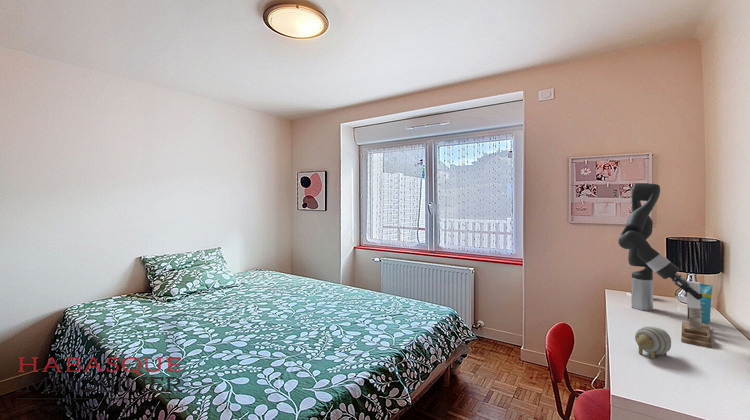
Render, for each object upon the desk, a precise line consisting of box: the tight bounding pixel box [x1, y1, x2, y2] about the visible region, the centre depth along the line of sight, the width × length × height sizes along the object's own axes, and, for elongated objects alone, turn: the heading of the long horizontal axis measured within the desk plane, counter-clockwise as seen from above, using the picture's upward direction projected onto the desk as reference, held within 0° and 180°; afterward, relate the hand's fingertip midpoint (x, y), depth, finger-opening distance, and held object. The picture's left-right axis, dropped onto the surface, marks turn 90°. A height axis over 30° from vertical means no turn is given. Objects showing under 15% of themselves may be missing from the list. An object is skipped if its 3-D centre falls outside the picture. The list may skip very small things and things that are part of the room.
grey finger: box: [684, 280, 701, 309], centre depth 138 cm, size 4×3×11 cm, turn 44°
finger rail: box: [680, 303, 712, 349], centre depth 144 cm, size 9×28×12 cm, turn 135°
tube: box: [700, 283, 713, 324], centre depth 159 cm, size 7×5×19 cm, turn 23°
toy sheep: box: [634, 326, 672, 360], centre depth 126 cm, size 11×17×11 cm, turn 114°
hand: (700, 297), depth 137 cm, fingers closed on grey finger, 3 cm apart
